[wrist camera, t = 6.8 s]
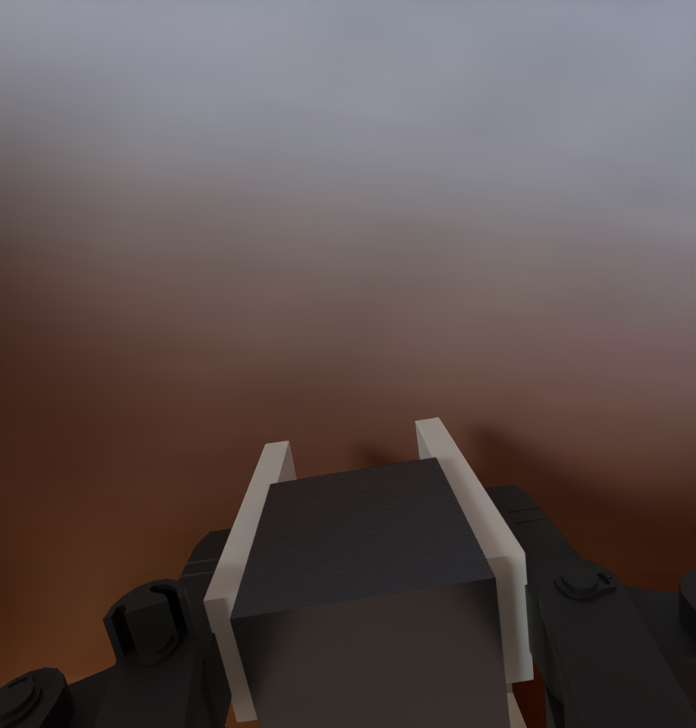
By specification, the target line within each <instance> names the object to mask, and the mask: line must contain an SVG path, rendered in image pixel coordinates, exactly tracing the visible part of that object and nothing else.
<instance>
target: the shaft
mask: <svg viewBox="0 0 696 728" xmlns="http://www.w3.org/2000/svg"><path fill="white" fill-rule="evenodd" d="M230 622H231V626H232V630H233V633H234V637H235V640H236V644H237V648H238V651H239V655H240V658H241V662H242V666H243V669H244V673H245V676H246V680H247V684H248V687H249V691H250V694H251V698H252V702H253V705H254V709H255V712H256V716H257V719H258V723H259V727H260V728H510V718H509V708H508V698H507V688H506V678H505V667H504V657H503V647H502V637H501V627H500V616H499V606H498V596H497V586H496V577H495V575H494V573H493V571H492V569H491V567H490V565H489V563H488V561H487V559H486V557H485V555H484V553H483V551H482V549H481V547H480V545H479V543H478V541H477V539H476V537H475V535H474V533H473V531H472V529H471V527H470V525H469V522H468V520H467V518H466V516H465V514H464V512H463V510H462V508H461V506H460V504H459V502H458V500H457V498H456V496H455V494H454V492H453V490H452V488H451V486H450V484H449V482H448V480H447V478H446V476H445V474H444V472H443V470H442V468H441V466H440V464H439V462H438V460H437V458H436V457H433V458H427V459H421V460H415V461H408V462H402V463H396V464H390V465H384V466H378V467H371V468H365V469H359V470H353V471H347V472H340V473H334V474H328V475H322V476H316V477H310V478H303V479H297V480H291V481H285V482H279V483H272V484H270V486H269V490H268V493H267V496H266V500H265V503H264V506H263V510H262V513H261V516H260V520H259V523H258V526H257V530H256V533H255V536H254V540H253V543H252V546H251V550H250V553H249V556H248V560H247V563H246V566H245V570H244V573H243V576H242V580H241V583H240V586H239V590H238V593H237V596H236V600H235V603H234V606H233V610H232V613H231V616H230Z"/></svg>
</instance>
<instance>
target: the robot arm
mask: <svg viewBox="0 0 696 728" xmlns="http://www.w3.org/2000/svg"><path fill="white" fill-rule="evenodd" d="M415 425H416V433H417V441H418V449H419V457H420V460H421V459H427V458H433V457H436V458H437V460H438V462H439V464H440V466H441V468H442V470H443V472H444V474H445V476H446V478H447V480H448V482H449V484H450V486H451V488H452V490H453V492H454V494H455V496H456V498H457V500H458V502H459V504H460V506H461V508H462V510H463V512H464V514H465V516H466V518H467V520H468V522H469V525H470V527H471V529H472V531H473V533H474V535H475V537H476V539H477V541H478V543H479V545H480V547H481V549H482V551H483V553H484V555H485V557H486V559H487V561H488V563H489V565H490V567H491V569H492V571H493V573H494V575H495V577H496V586H497V596H498V606H499V616H500V627H501V637H502V647H503V657H504V667H505V678H506V684H507V683H514V682H521V681H528V680H534V676H533V662H532V657H533V659H534V661H535V663H536V665H537V667H538V669H539V671H540V673H541V675H542V678H543V680H544V689H545V705H546V721H547V728H696V570H693V571H691V572H688V573H685V575H684V576H683V577H682V579H681V580H680V582H679V593H677V592H667V591H657V590H646V589H639V588H633V587H628V586H624V585H622V583H621V582H620V581H619V580H618V579H617V578H616V576H615V575H614V574H613V573H611V572H610V571H608V570H607V569H605V568H603V567H602V566H600V565H598V564H595V563H592V562H589V561H586V560H583V559H581V558H580V556H579V555H578V554H577V553H576V551H575V550H574V549H573V548H572V547H571V545H570V544H569V543H568V542H567V540H566V539H565V538H564V537H563V536H562V534H561V533H560V532H559V531H558V529H557V528H556V527H555V526H554V524H553V523H552V522H551V521H549V520H548V517H547V516H546V515H545V513H544V512H543V511H542V510H540V508H539V506H538V505H537V504H536V502H535V501H534V500H533V499H532V497H531V496H530V495H529V494H528V493H526V492H524V491H522V490H520V489H519V488H517V487H515V486H513V485H506V486H500V487H493V488H487V489H484V488H483V486H482V485H481V483H480V482H479V480H478V478H477V477H476V475H475V474H474V472H473V471H472V469H471V467H470V466H469V464H468V463H467V461H466V460H465V458H464V456H463V455H462V453H461V452H460V450H459V449H458V447H457V445H456V444H455V442H454V441H453V439H452V438H451V436H450V434H449V433H448V431H447V430H446V428H445V427H444V425H443V423H442V422H441V420H440V419H439V417H438V418H431V419H425V420H418V421H415ZM291 480H297V478H296V473H295V468H294V463H293V458H292V453H291V448H290V443H289V441H282V442H276V443H269V444H265V447H264V449H263V452H262V454H261V457H260V459H259V462H258V464H257V467H256V469H255V472H254V474H253V477H252V479H251V482H250V484H249V487H248V489H247V492H246V495H245V497H244V500H243V502H242V505H241V507H240V510H239V512H238V515H237V517H236V520H235V522H234V525H233V527H232V529H226V530H220V531H213V532H209V533H208V534H207V535H206V536H205V537H204V538H203V539H202V540H201V541H200V542H199V543H198V544H197V545H196V546H195V548H194V550H193V552H192V554H191V556H190V558H189V560H188V565H186V566H185V568H184V570H183V572H182V574H181V578H179V580H178V581H177V580H171V579H163V580H157V581H152V582H149V583H147V584H144V585H142V586H139V587H137V588H135V589H134V590H132V591H131V592H129V593H127V594H126V595H124V596H123V597H122V598H121V599H119V600H118V601H117V602H116V603H115V604H114V605H113V606H112V607H111V608H110V609H109V611H108V613H107V614H106V616H105V617H104V619H103V621H104V624H105V627H106V630H107V633H108V636H109V639H110V641H111V644H112V647H113V650H114V653H115V656H116V659H117V661H116V664H115V665H114V666H112V667H110V668H108V669H106V670H104V671H102V672H99V673H97V674H94V675H92V676H89V677H87V678H85V679H82V680H80V681H77V682H75V683H72V684H70V685H68V684H67V682H66V679H65V677H64V675H63V674H62V673H61V672H60V671H59V670H58V669H57V668H46V667H45V668H41V669H38V670H34V671H30V672H28V673H26V674H24V675H22V676H20V677H18V678H16V679H14V680H12V681H10V682H9V683H7V684H6V685H5V686H3V687H2V688H1V689H0V728H225V723H226V718H227V714H228V710H229V706H230V702H232V706H233V710H234V713H235V717H236V720H237V723H238V722H245V721H252V720H258V719H257V716H256V712H255V709H254V705H253V702H252V698H251V694H250V691H249V687H248V684H247V680H246V676H245V673H244V669H243V666H242V662H241V658H240V655H239V651H238V648H237V644H236V640H235V637H234V633H233V630H232V626H231V622H230V616H231V613H232V610H233V606H234V603H235V600H236V596H237V593H238V590H239V586H240V583H241V580H242V576H243V573H244V570H245V566H246V563H247V560H248V556H249V553H250V550H251V546H252V543H253V540H254V536H255V533H256V530H257V526H258V523H259V520H260V516H261V513H262V510H263V506H264V503H265V500H266V496H267V493H268V490H269V486H270V484H272V483H279V482H285V481H291Z"/></svg>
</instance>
